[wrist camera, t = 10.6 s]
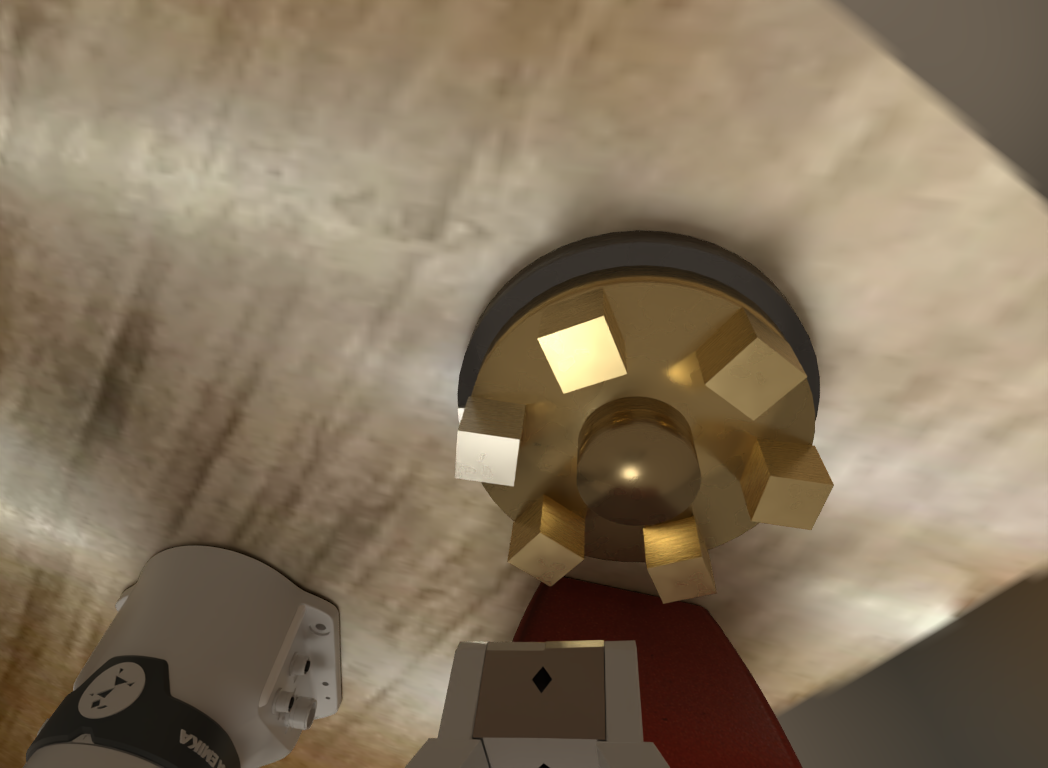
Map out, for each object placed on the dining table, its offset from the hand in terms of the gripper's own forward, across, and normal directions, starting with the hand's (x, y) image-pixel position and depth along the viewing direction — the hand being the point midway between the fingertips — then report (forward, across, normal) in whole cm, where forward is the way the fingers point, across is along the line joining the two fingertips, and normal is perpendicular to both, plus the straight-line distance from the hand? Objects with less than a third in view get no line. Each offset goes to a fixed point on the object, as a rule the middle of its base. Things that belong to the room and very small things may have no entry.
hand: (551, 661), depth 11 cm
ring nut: (+23, +2, -11) cm, 25 cm away
